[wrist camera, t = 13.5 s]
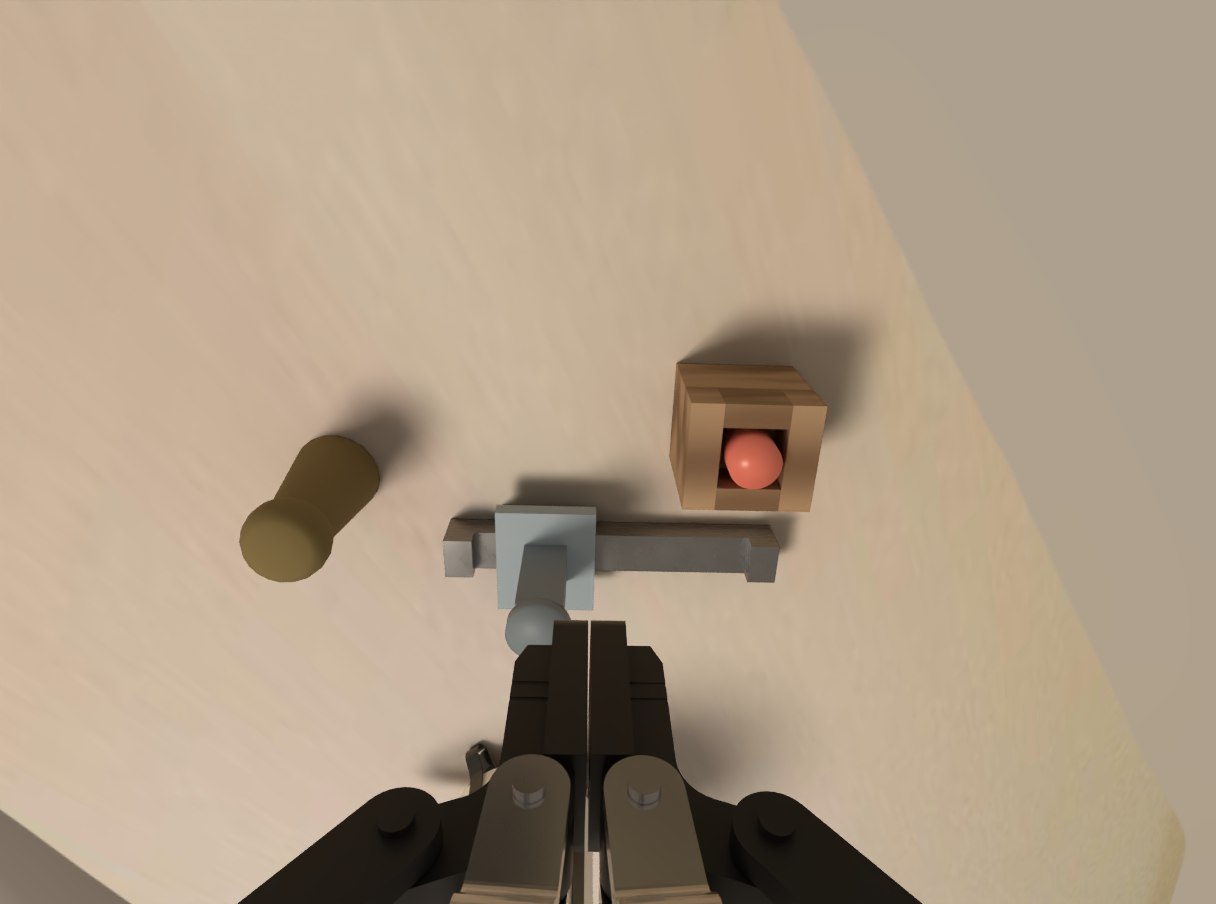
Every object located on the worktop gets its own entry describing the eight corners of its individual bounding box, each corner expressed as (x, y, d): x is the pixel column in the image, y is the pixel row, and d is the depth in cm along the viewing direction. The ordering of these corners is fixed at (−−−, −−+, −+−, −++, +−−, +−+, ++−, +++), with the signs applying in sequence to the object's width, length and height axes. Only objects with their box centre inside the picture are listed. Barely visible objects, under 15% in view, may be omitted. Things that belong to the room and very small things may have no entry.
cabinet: (676, 363, 49) (691, 403, 41) (792, 366, 49) (827, 406, 42) (669, 461, 52) (681, 514, 44) (778, 464, 52) (809, 517, 45)
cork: (396, 473, 52) (349, 554, 42) (346, 525, 53) (289, 615, 43) (327, 418, 50) (260, 489, 40) (277, 475, 52) (201, 556, 41)
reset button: (723, 421, 44) (731, 439, 41) (774, 422, 44) (786, 441, 42) (717, 467, 46) (726, 488, 43) (767, 468, 46) (778, 490, 43)
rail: (451, 518, 53) (442, 541, 50) (769, 525, 54) (779, 547, 51) (453, 553, 54) (445, 577, 52) (764, 558, 55) (774, 582, 52)
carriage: (500, 491, 52) (477, 578, 42) (596, 493, 52) (596, 580, 42) (503, 583, 55) (482, 685, 45) (593, 584, 56) (593, 686, 45)
